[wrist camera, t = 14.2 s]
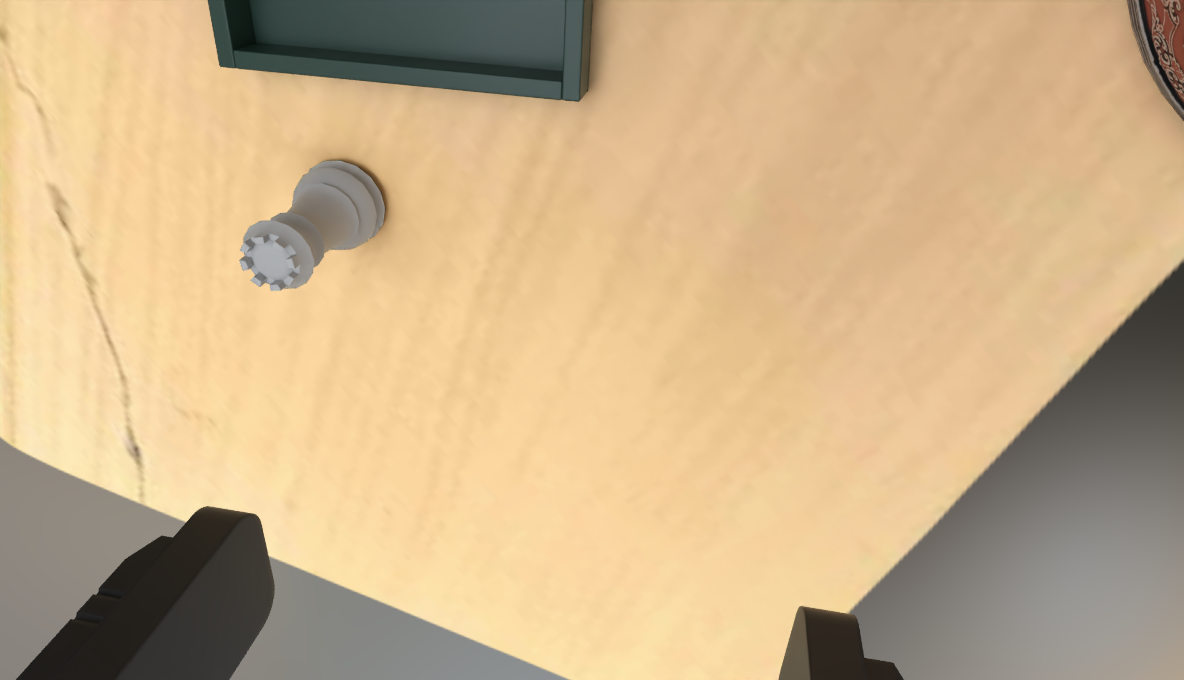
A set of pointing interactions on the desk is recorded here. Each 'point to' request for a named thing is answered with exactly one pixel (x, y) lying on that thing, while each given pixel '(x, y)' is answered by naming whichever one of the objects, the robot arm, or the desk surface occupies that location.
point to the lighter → (1162, 44)
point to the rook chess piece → (314, 225)
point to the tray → (415, 42)
